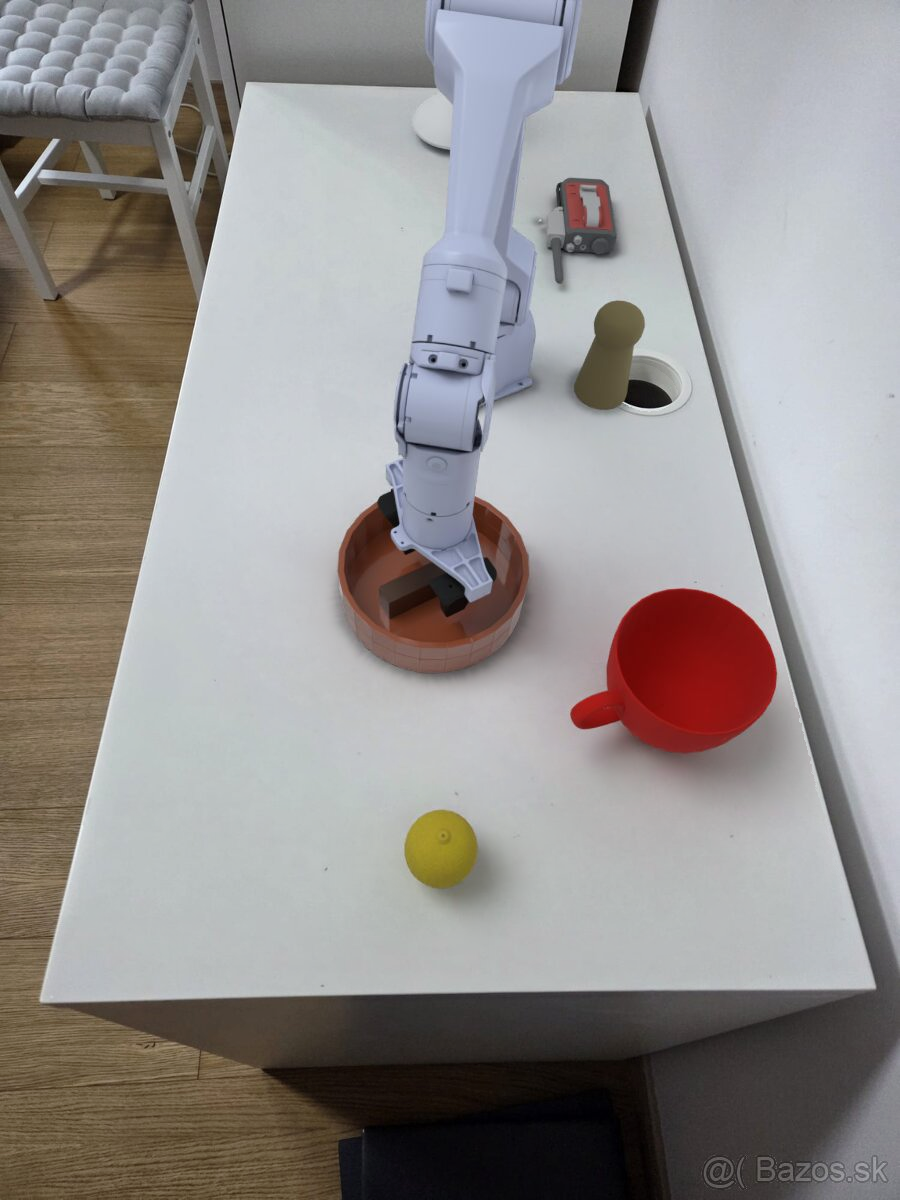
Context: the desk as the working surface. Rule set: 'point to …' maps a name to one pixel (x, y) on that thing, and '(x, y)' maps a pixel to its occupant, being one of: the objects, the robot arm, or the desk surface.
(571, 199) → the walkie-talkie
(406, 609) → the brown rectangular block
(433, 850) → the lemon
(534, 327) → the robot arm
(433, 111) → the flower in vase
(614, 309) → the olive brown pawn
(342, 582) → the bowl
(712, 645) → the ceramic cup
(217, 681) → the desk surface
